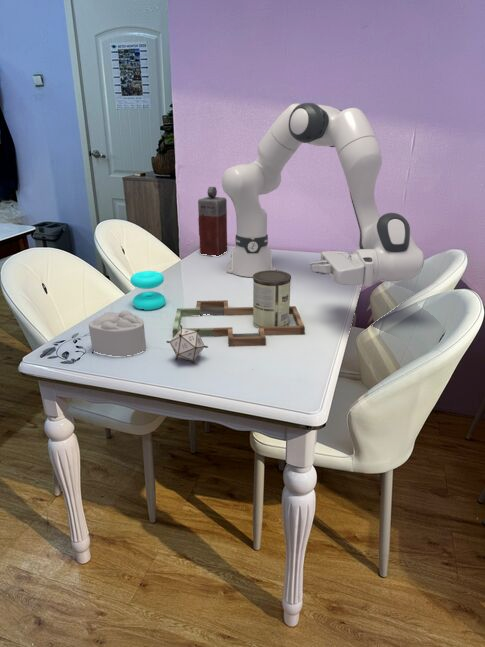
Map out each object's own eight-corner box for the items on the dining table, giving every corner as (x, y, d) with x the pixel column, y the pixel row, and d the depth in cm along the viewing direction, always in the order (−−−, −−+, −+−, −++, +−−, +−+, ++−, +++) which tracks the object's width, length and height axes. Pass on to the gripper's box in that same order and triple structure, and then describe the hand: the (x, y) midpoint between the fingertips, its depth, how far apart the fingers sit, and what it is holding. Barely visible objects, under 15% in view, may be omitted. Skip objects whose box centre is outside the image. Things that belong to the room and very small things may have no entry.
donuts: (153, 281, 130) (123, 277, 133) (155, 313, 134) (126, 309, 137) (169, 271, 139) (141, 268, 142) (171, 301, 143) (143, 298, 146)
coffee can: (258, 314, 133) (259, 268, 128) (292, 319, 130) (295, 272, 124) (247, 328, 124) (247, 279, 119) (284, 333, 121) (286, 283, 116)
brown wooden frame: (179, 307, 138) (178, 301, 138) (292, 305, 140) (292, 299, 139) (170, 347, 113) (170, 340, 113) (308, 344, 115) (309, 337, 114)
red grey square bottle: (205, 249, 203) (202, 184, 191) (227, 252, 198) (226, 186, 187) (195, 254, 195) (192, 187, 184) (218, 257, 191) (216, 188, 180)
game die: (182, 370, 110) (169, 332, 112) (214, 358, 110) (200, 320, 111) (172, 370, 101) (158, 329, 103) (207, 357, 101) (192, 315, 102)
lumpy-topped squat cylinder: (111, 335, 120) (107, 305, 117) (154, 343, 116) (152, 311, 113) (87, 353, 111) (81, 320, 108) (132, 361, 107) (129, 328, 104)
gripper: (352, 245, 130) (304, 246, 129) (375, 264, 111) (319, 265, 110) (350, 266, 132) (303, 267, 132) (372, 288, 114) (318, 290, 113)
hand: (310, 267), depth 121 cm, fingers closed
